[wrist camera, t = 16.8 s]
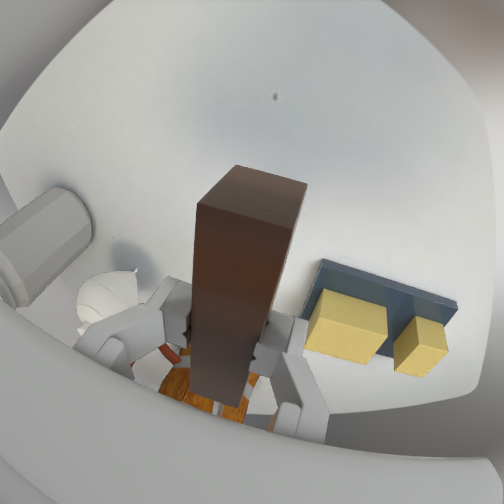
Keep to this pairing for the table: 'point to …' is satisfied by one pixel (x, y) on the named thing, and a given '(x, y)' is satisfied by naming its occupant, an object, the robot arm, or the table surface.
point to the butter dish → (380, 299)
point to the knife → (237, 275)
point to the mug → (179, 389)
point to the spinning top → (105, 296)
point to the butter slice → (419, 347)
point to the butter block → (346, 327)
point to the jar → (41, 244)
